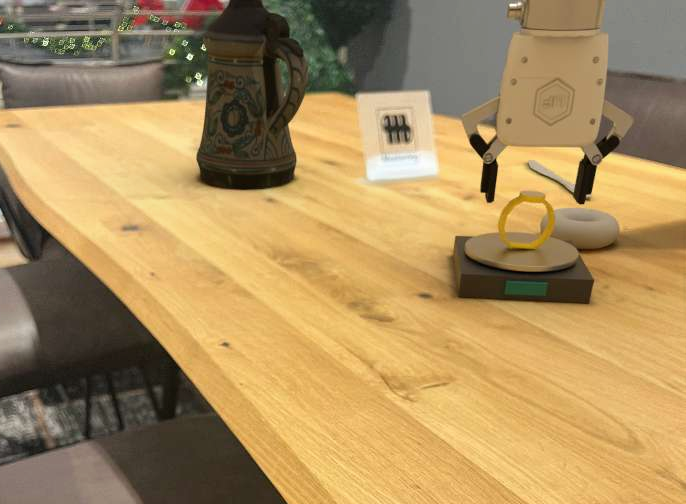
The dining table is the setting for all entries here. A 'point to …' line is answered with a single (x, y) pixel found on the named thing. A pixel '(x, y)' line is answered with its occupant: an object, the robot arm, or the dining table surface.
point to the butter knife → (552, 175)
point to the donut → (583, 227)
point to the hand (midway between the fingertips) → (533, 200)
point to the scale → (520, 280)
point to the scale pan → (521, 252)
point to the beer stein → (250, 99)
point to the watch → (532, 198)
